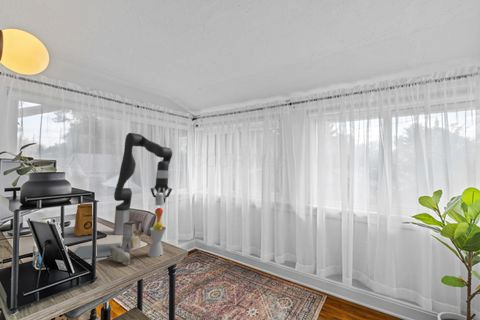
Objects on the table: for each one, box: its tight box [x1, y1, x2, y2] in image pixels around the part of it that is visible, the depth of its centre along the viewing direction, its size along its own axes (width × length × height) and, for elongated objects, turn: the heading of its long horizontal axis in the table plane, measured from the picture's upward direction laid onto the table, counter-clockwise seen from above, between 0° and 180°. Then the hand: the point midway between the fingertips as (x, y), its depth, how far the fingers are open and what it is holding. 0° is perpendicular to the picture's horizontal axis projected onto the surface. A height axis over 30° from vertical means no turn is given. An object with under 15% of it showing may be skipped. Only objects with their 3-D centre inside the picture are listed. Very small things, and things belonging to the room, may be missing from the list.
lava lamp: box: [147, 193, 167, 258], centre depth 126 cm, size 9×9×35 cm
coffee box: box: [121, 219, 143, 252], centre depth 132 cm, size 9×6×16 cm
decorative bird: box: [106, 243, 131, 267], centre depth 113 cm, size 5×16×8 cm, turn 62°
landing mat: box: [74, 242, 122, 260], centre depth 124 cm, size 20×22×1 cm
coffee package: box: [73, 203, 93, 237], centre depth 151 cm, size 10×12×22 cm
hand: (160, 203), depth 140 cm, fingers open, 3 cm apart
